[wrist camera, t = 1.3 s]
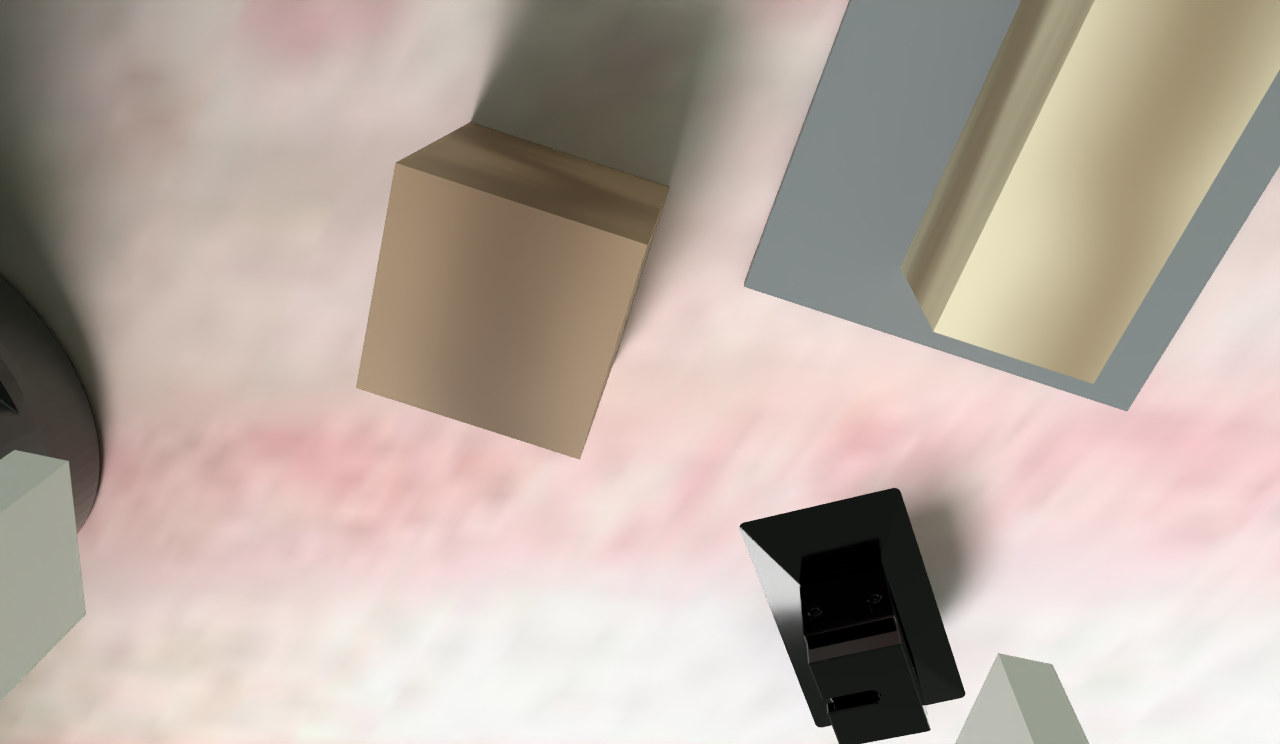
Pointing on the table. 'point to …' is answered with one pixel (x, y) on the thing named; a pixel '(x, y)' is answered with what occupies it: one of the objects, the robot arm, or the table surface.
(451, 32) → the table surface
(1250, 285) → the table surface
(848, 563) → the black plastic holder
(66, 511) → the robot arm
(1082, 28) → the plinth
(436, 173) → the walnut cube
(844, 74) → the mat
